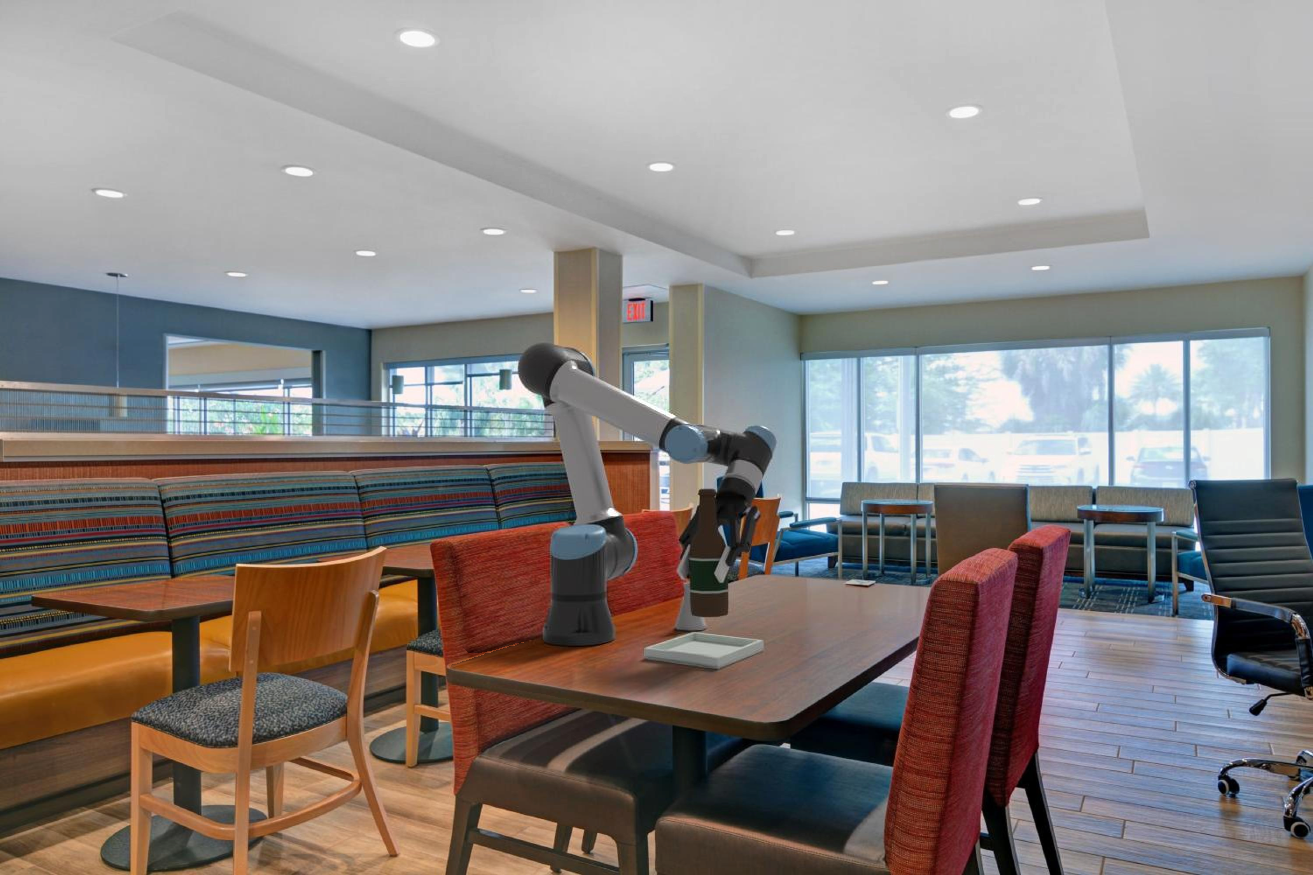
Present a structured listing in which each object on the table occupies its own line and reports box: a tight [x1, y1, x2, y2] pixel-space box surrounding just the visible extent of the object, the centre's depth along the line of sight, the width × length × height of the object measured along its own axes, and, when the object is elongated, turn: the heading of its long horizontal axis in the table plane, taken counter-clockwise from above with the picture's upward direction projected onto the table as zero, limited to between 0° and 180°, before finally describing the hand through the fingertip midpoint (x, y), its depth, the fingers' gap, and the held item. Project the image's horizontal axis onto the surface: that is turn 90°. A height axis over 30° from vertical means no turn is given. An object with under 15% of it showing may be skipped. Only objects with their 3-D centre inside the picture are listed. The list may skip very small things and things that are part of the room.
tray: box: [643, 631, 765, 670], centre depth 172 cm, size 16×18×2 cm
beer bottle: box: [689, 488, 729, 618], centre depth 172 cm, size 8×8×24 cm
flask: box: [674, 581, 708, 632], centre depth 198 cm, size 7×7×10 cm
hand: (699, 576), depth 169 cm, fingers closed on beer bottle, 8 cm apart
